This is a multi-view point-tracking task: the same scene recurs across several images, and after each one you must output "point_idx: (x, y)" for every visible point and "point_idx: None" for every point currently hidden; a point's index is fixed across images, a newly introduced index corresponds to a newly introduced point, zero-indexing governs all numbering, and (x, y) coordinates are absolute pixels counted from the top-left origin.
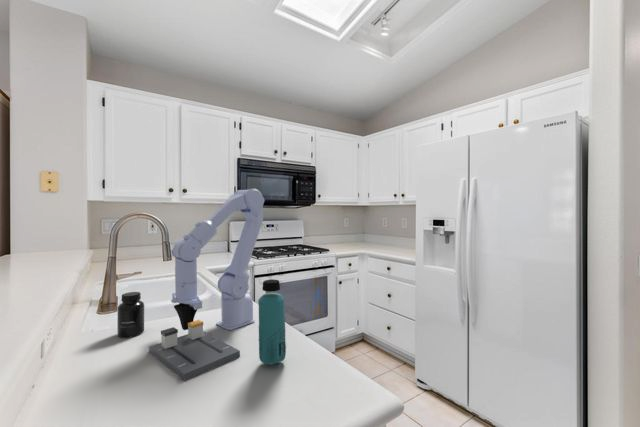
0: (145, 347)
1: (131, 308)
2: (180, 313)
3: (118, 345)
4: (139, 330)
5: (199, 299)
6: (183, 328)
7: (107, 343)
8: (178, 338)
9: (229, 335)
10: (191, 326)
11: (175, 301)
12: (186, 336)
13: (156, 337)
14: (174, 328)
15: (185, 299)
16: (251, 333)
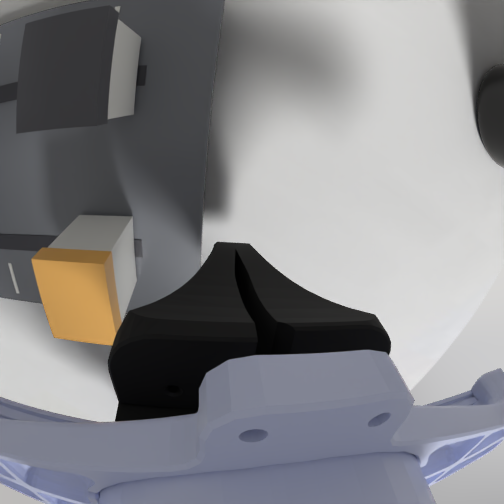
0: (314, 27)
1: None
2: (219, 300)
3: (443, 2)
4: (490, 122)
5: (31, 497)
6: (225, 244)
7: (487, 10)
8: (181, 170)
9: (97, 358)
10: (45, 254)
11: (201, 416)
12: (168, 219)
13: (391, 139)
14: (58, 120)
15: (107, 497)
16: (69, 395)
